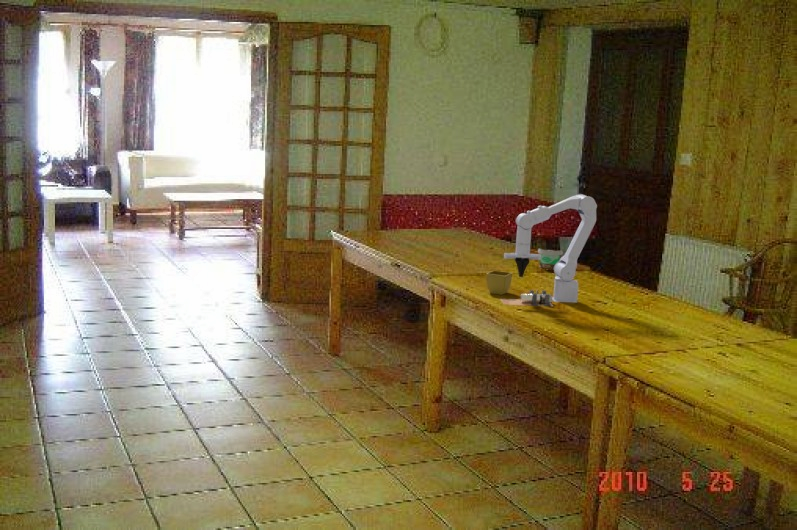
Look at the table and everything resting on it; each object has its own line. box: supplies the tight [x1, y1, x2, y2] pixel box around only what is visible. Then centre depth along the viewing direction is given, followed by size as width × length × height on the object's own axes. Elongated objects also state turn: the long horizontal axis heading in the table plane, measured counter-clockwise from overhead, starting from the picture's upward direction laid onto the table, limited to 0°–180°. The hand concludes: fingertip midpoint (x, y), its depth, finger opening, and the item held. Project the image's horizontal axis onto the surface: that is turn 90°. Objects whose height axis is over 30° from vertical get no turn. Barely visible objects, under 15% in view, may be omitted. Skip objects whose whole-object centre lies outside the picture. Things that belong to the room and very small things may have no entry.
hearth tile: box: [499, 298, 554, 307], centre depth 330 cm, size 20×10×1 cm, turn 91°
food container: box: [537, 248, 564, 270], centre depth 402 cm, size 12×6×10 cm, turn 73°
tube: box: [519, 293, 553, 304], centre depth 329 cm, size 12×4×4 cm, turn 93°
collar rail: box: [528, 289, 552, 307], centre depth 330 cm, size 7×10×4 cm
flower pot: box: [485, 270, 514, 296], centre depth 345 cm, size 9×9×9 cm
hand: (520, 276), depth 333 cm, fingers closed
